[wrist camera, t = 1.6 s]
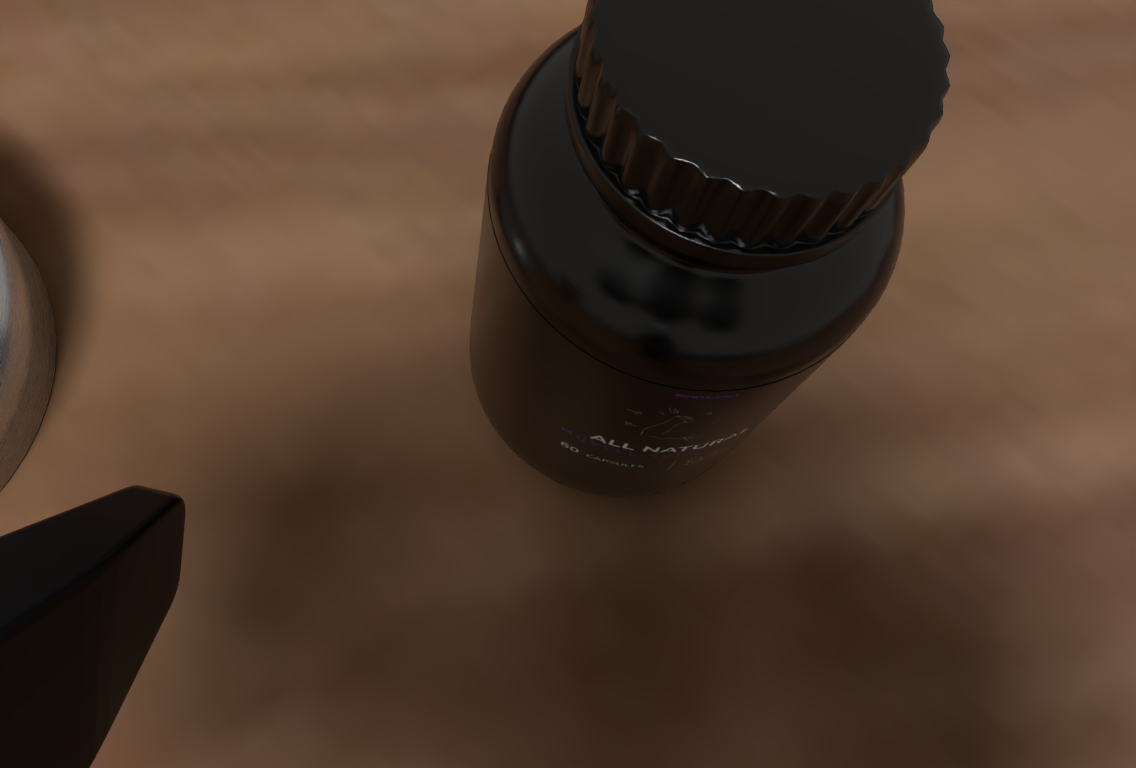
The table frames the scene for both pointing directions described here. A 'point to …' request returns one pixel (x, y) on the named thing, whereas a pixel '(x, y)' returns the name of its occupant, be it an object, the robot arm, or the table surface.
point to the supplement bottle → (691, 223)
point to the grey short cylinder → (22, 351)
